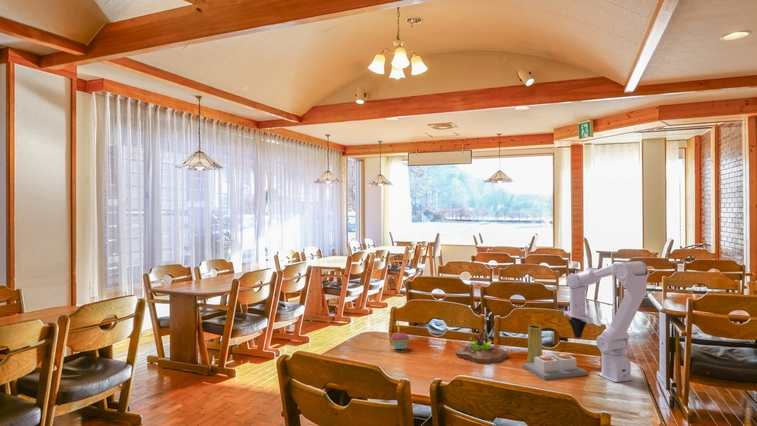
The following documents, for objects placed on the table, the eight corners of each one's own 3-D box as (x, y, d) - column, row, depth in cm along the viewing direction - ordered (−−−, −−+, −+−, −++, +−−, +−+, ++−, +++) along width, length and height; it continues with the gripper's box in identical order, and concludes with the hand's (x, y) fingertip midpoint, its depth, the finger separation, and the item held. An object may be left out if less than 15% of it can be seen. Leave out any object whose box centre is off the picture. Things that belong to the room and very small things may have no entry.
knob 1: (553, 370, 171) (553, 357, 171) (544, 371, 170) (544, 358, 170) (547, 366, 175) (547, 354, 175) (538, 367, 174) (538, 355, 174)
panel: (586, 375, 170) (586, 360, 170) (544, 379, 166) (544, 364, 166) (562, 363, 184) (561, 349, 184) (522, 367, 179) (522, 353, 179)
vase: (525, 362, 185) (525, 327, 185) (528, 358, 190) (528, 324, 191) (541, 364, 182) (541, 329, 182) (544, 360, 188) (543, 325, 188)
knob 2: (571, 368, 173) (571, 355, 174) (563, 368, 172) (563, 356, 173) (565, 364, 177) (565, 352, 177) (556, 365, 176) (556, 353, 176)
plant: (515, 357, 193) (515, 330, 193) (486, 367, 181) (486, 338, 181) (478, 347, 209) (477, 322, 209) (448, 355, 197) (448, 329, 197)
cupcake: (387, 347, 208) (387, 321, 208) (403, 345, 212) (403, 319, 212) (396, 352, 200) (395, 325, 200) (413, 350, 204) (412, 323, 204)
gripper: (599, 306, 178) (599, 341, 178) (573, 299, 192) (574, 332, 192) (583, 307, 176) (584, 342, 176) (559, 300, 190) (559, 333, 190)
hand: (577, 337), depth 184 cm, fingers closed
